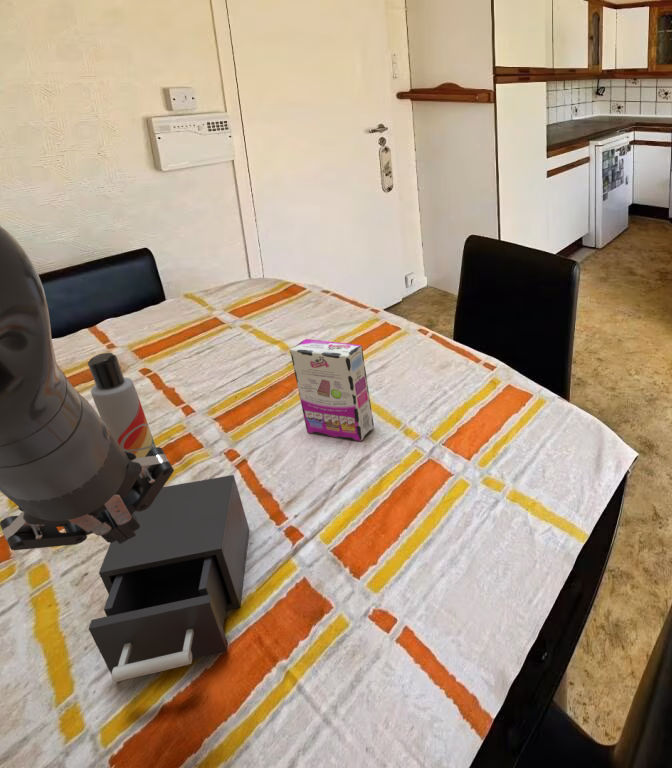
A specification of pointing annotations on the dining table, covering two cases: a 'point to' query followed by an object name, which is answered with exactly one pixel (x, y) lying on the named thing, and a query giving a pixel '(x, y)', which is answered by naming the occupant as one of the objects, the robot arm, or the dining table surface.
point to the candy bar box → (333, 388)
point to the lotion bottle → (120, 405)
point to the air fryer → (187, 533)
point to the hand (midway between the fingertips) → (124, 531)
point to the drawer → (162, 618)
